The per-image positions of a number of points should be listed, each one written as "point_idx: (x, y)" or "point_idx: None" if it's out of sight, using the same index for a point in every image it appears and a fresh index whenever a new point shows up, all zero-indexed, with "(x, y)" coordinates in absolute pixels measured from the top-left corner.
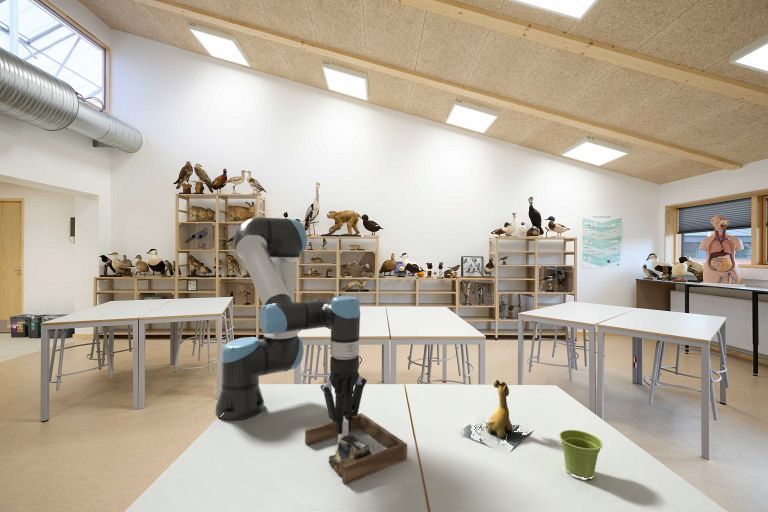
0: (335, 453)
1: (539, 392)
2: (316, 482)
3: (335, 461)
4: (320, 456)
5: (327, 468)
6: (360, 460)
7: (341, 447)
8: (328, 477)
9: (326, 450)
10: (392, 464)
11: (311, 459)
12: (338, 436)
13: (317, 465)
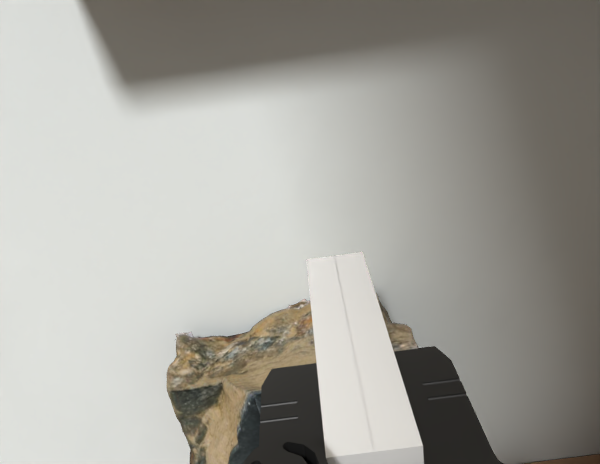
0: (225, 382)
1: None
2: (57, 454)
3: (193, 459)
4: (145, 196)
5: (160, 360)
6: None
7: None
8: (141, 441)
9: (222, 126)
10: None
11: (61, 207)
12: (310, 297)
13: (95, 301)
